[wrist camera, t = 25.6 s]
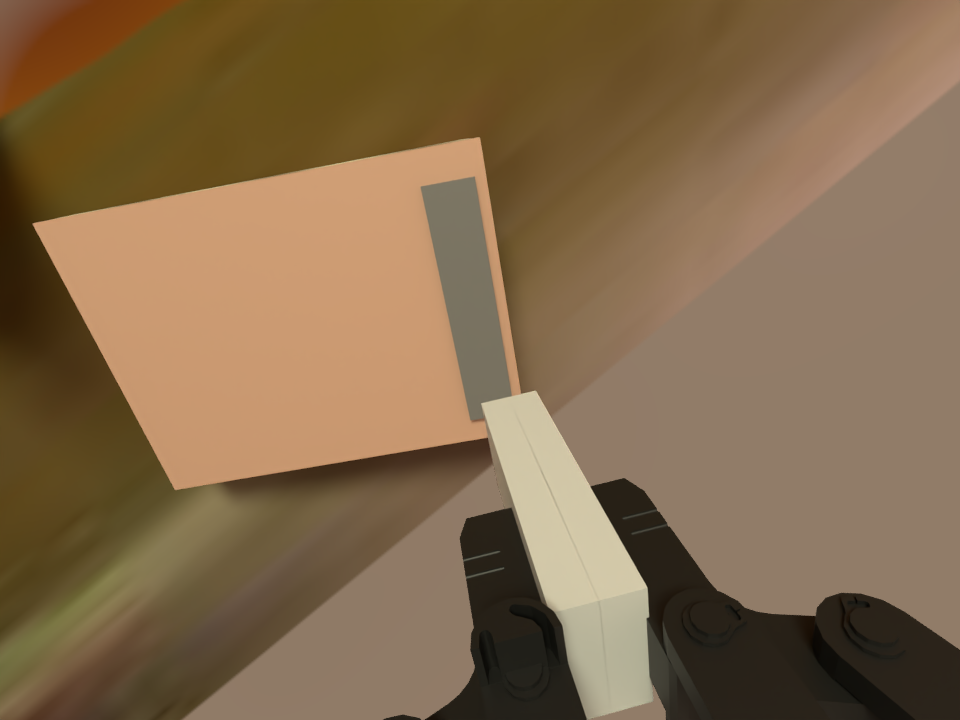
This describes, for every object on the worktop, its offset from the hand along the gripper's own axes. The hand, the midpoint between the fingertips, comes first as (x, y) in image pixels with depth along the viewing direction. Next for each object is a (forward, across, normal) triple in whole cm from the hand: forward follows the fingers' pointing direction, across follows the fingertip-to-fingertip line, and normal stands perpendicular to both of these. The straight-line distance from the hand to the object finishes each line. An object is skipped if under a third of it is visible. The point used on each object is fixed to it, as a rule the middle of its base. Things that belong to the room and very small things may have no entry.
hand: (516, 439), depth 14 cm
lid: (+14, -8, 0) cm, 16 cm away
